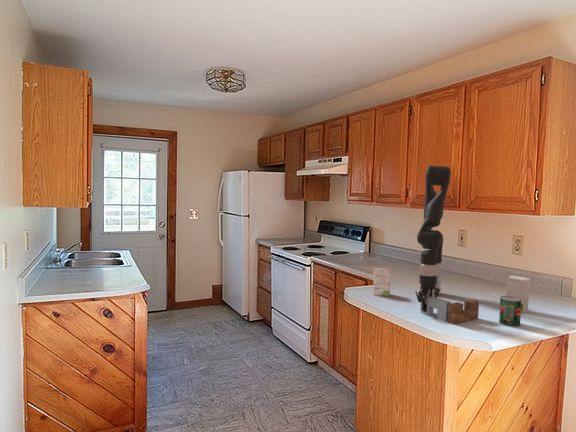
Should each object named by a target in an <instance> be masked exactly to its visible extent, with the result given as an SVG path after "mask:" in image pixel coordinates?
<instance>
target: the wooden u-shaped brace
mask: <svg viewBox="0 0 576 432" xmlns="http://www.w3.org/2000/svg"><path fill="white" fill-rule="evenodd" d="M463 302H464V303H462V302H458V301H457V302H451V304H448V321H447V323H448V322H449V323H448V324H451V323H452V324H451V325H457V324H460V323H466V322H471V321H475V320H478V319H479V309H480V308H479V305H480V304H479V303H480V301H479V300H477V299H474V298H472V299H471V298H470V299H466V300H463Z"/></svg>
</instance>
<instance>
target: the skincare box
mask: <svg viewBox="0 0 576 432" xmlns="http://www.w3.org/2000/svg"><path fill="white" fill-rule="evenodd" d="M506 283H507V284H506V285H507V286H506V295H505V296H513V297H517V298H520V299H521V314H525V313H526V312H528V310H529V300H530V289H531V288H530V287H531V278H528V277H523V276H517V275H510V276H508V277H507V282H506Z"/></svg>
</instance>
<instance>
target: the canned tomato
mask: <svg viewBox="0 0 576 432" xmlns="http://www.w3.org/2000/svg"><path fill="white" fill-rule="evenodd" d="M521 315H522V313H521V299H520V298H517V297H513V296H506V295H501V296H499V314H498V316H499V318H498V319H499V320H498V323H499V324H501V325H503V326H506V327H510V328H511V327H512V328H518V327H520V326H521Z"/></svg>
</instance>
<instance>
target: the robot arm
mask: <svg viewBox="0 0 576 432" xmlns="http://www.w3.org/2000/svg"><path fill="white" fill-rule="evenodd" d="M451 176H452V171H451V167H449V166H441V165H428V167H427V168H426V170H425V194H424V195H425V198H424V207H423V222H422V224H421V225H420V228H419V231H418V233H417V236H416V240H417V243H418V244H419V245H421V247H422V248H423V249H424V250H422V251H421V252H420V263H419V264H420V265H419V277H418V278H419V280H418V282H419V285H420V287H419V289H418V290H415V295H416V298H417V302H418V303H420V304H421V303H422V311H423V312H427V299H428V297H429V296H432V297H436V298H439V295H441V293H442V292H441V291H442V268H443V267H442V266H443V263H442V262H443V245H444V236H443V233H442V232H441V231H440V230H438V229H437V230H436V229H433V228H436V227H439V226H440V224H441V220H442V218H443V215H444V204H445V201H446V197H447V193H448V189H449V185H450V181H451ZM435 186H439V187H440V190H439V191H438V192H436V191H435ZM424 296H426V297H424ZM424 299H425V301H424Z"/></svg>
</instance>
